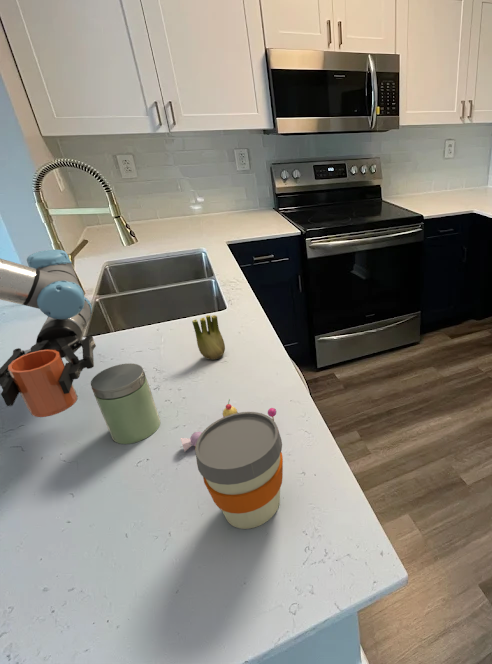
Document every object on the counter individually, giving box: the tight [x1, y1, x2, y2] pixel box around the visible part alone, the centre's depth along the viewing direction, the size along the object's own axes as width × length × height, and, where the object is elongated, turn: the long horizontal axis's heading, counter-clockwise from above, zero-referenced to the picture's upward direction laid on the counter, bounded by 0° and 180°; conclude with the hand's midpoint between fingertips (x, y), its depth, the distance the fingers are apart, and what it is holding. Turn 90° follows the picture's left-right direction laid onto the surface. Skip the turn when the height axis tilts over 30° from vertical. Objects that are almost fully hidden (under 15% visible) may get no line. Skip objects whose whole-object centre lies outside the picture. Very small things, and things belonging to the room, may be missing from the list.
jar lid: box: [90, 363, 147, 399], centre depth 81 cm, size 9×9×2 cm
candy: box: [180, 398, 277, 452], centre depth 84 cm, size 18×8×6 cm, turn 123°
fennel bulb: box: [191, 314, 226, 361], centre depth 108 cm, size 6×5×12 cm
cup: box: [8, 349, 78, 418], centre depth 78 cm, size 7×7×10 cm
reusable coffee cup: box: [194, 411, 284, 530], centre depth 67 cm, size 13×13×15 cm
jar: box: [93, 375, 161, 445], centre depth 84 cm, size 9×9×12 cm
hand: (36, 393), depth 73 cm, fingers closed on cup, 8 cm apart
